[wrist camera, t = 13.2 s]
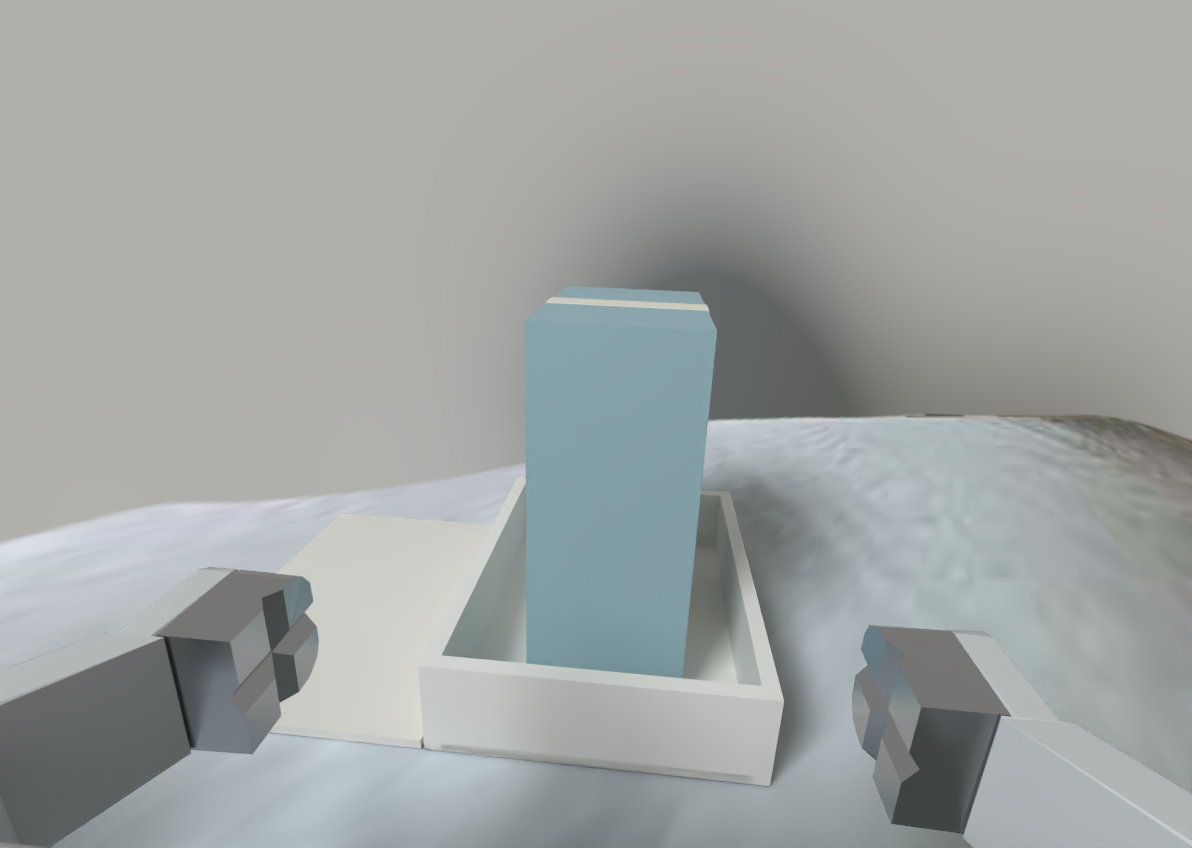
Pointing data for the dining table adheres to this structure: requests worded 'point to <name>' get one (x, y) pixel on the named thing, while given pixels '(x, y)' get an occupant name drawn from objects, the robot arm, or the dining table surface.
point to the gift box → (614, 475)
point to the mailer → (498, 654)
